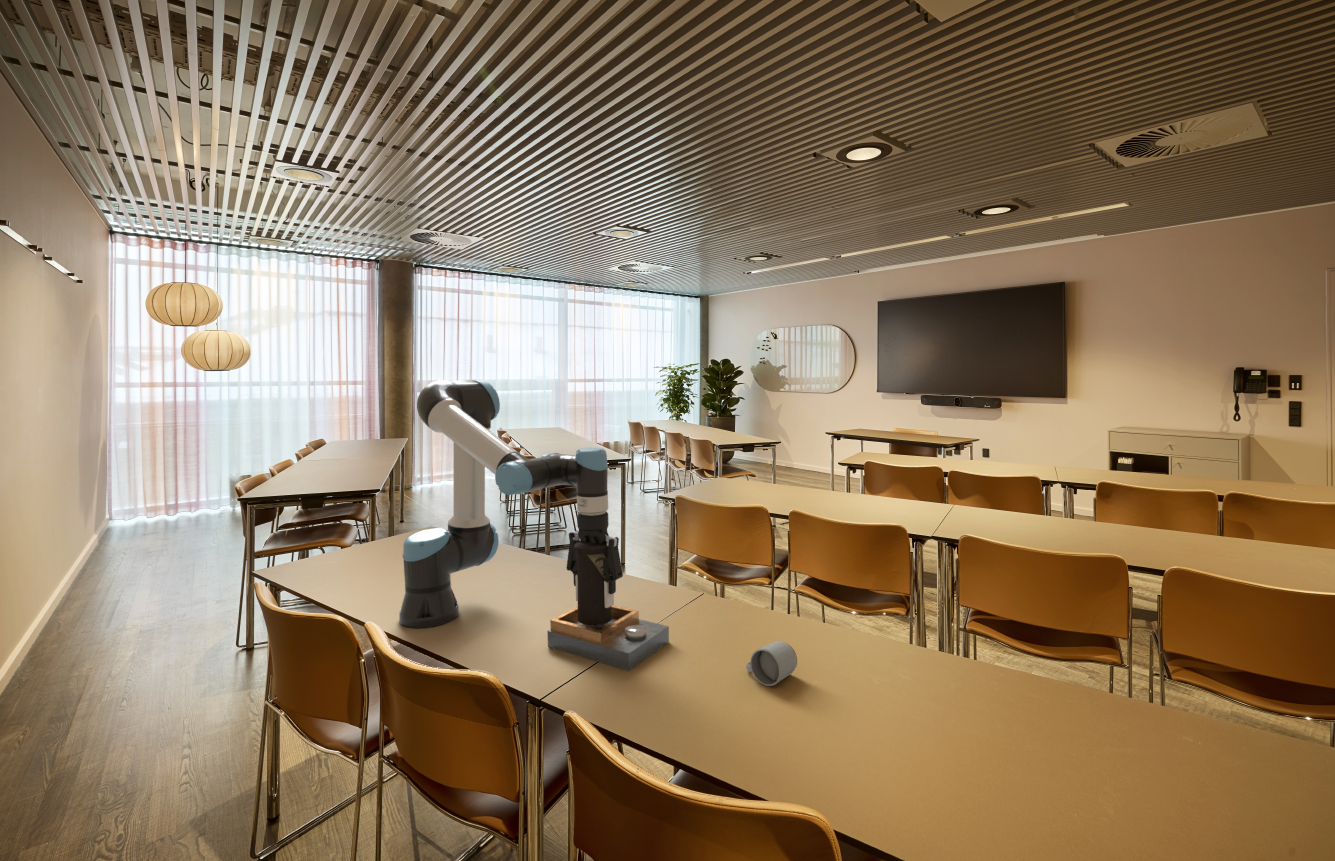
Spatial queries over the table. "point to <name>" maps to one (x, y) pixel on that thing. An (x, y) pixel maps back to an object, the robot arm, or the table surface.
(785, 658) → the ceramic mug
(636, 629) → the framed panel with knob
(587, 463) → the robot arm
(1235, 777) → the table surface
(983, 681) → the table surface
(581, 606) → the container
